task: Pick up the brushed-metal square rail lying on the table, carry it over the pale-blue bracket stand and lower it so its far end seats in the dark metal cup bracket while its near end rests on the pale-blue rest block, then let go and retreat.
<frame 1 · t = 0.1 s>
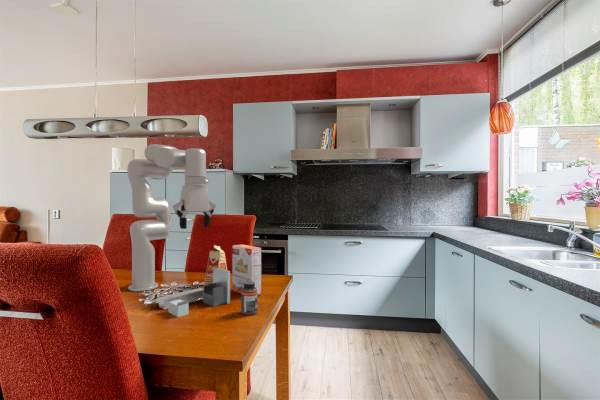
hand: (195, 227, 117), 31 cm above the table, tool pointing down, fingers open, 9 cm apart
cracker box: (246, 293, 140), on the table
rest block: (178, 313, 114), on the table
supplement bottle: (249, 313, 115), on the table
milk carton: (216, 286, 151), on the table
rail: (183, 303, 127), on the table
cup bracket: (218, 301, 127), on the table
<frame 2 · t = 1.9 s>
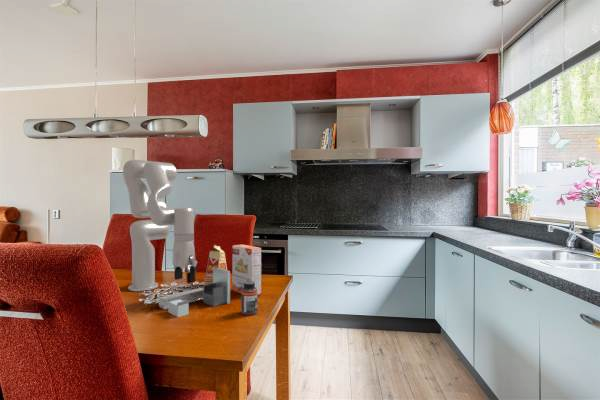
hand: (184, 280, 126), 9 cm above the table, tool pointing down, fingers open, 9 cm apart
nothing on the table moved.
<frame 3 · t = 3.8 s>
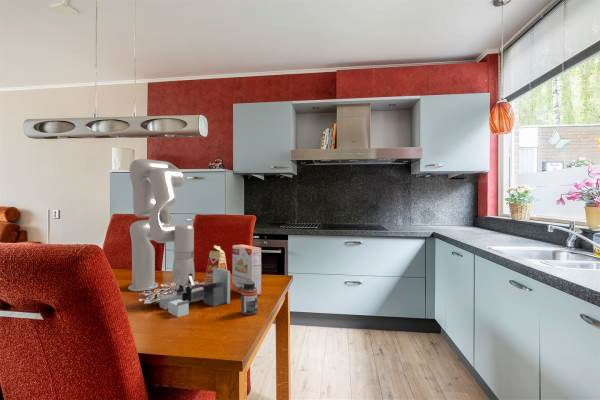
hand: (184, 300, 126), 1 cm above the table, tool pointing down, fingers closed on rail, 4 cm apart
rail: (184, 302, 126), on the table, touching gripper
everything else where it was.
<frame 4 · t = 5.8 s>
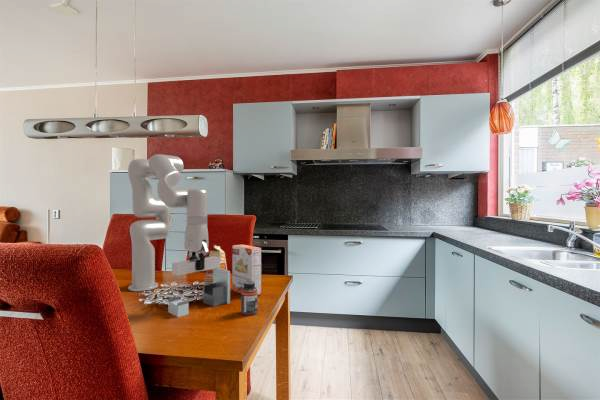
hand: (196, 268, 120), 15 cm above the table, tool pointing down, fingers closed on rail, 4 cm apart
rail: (197, 270, 120), point 14 cm above the table, touching gripper
everything else where it was.
when the fingers open (6 cm above the table, at t = 8.1 s): rail drops 1 cm, resting on cup bracket, rest block.
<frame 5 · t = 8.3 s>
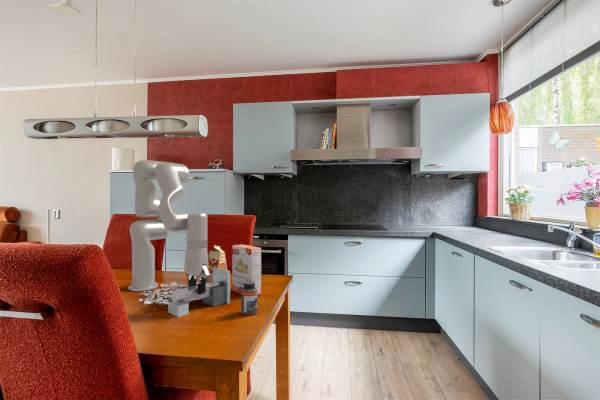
hand: (196, 291, 120), 6 cm above the table, tool pointing down, fingers open, 5 cm apart
rail: (196, 297, 120), point 4 cm above the table, touching cup bracket, rest block
everything else where it was.
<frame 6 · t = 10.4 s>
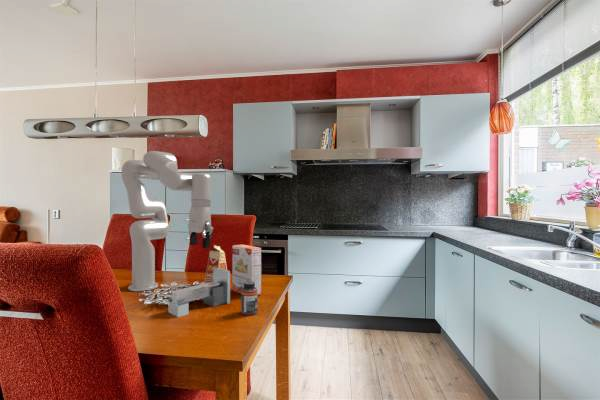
hand: (199, 246, 127), 23 cm above the table, tool pointing down, fingers open, 9 cm apart
nothing on the table moved.
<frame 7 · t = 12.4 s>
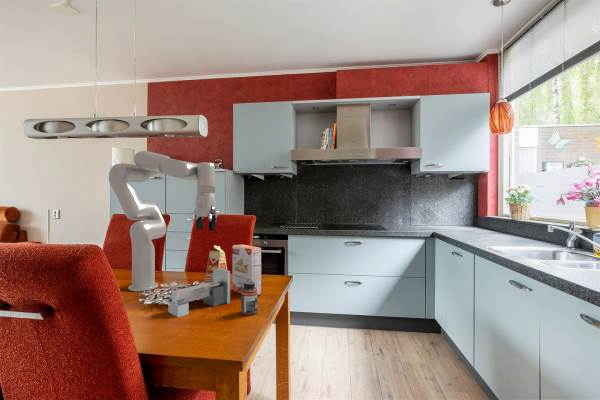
hand: (205, 229, 138), 28 cm above the table, tool pointing down, fingers open, 9 cm apart
nothing on the table moved.
at the end: rail 0.2 cm from the target spot on the cup bracket, point 4.0 cm above the cup bracket's base; rail tilted 0°; the gripper is holding nothing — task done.
